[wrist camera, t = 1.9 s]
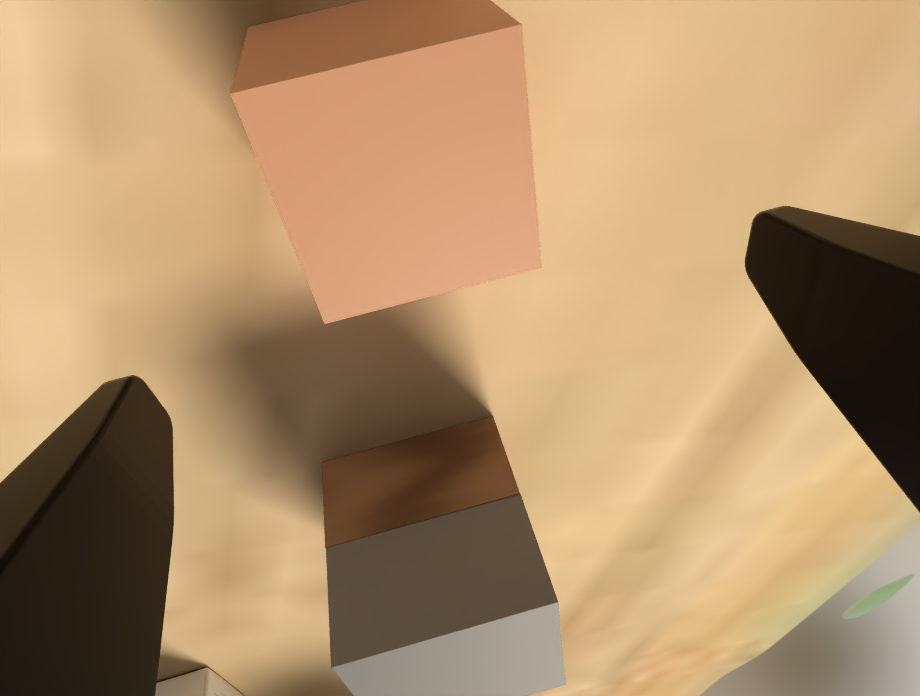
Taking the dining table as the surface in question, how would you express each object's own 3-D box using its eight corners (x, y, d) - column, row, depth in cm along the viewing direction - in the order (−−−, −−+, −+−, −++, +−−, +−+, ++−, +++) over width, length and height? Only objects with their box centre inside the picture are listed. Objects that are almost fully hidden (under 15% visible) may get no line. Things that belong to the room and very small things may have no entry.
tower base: (491, 412, 24) (519, 493, 21) (509, 507, 28) (534, 585, 25) (321, 458, 23) (325, 547, 20) (368, 547, 28) (376, 630, 25)
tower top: (520, 493, 21) (558, 601, 18) (534, 586, 25) (566, 684, 22) (326, 548, 20) (331, 667, 17) (376, 631, 25) (387, 737, 22)
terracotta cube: (460, -23, 14) (520, 24, 10) (487, 175, 17) (541, 267, 13) (248, 26, 13) (229, 94, 10) (318, 218, 17) (324, 324, 13)
